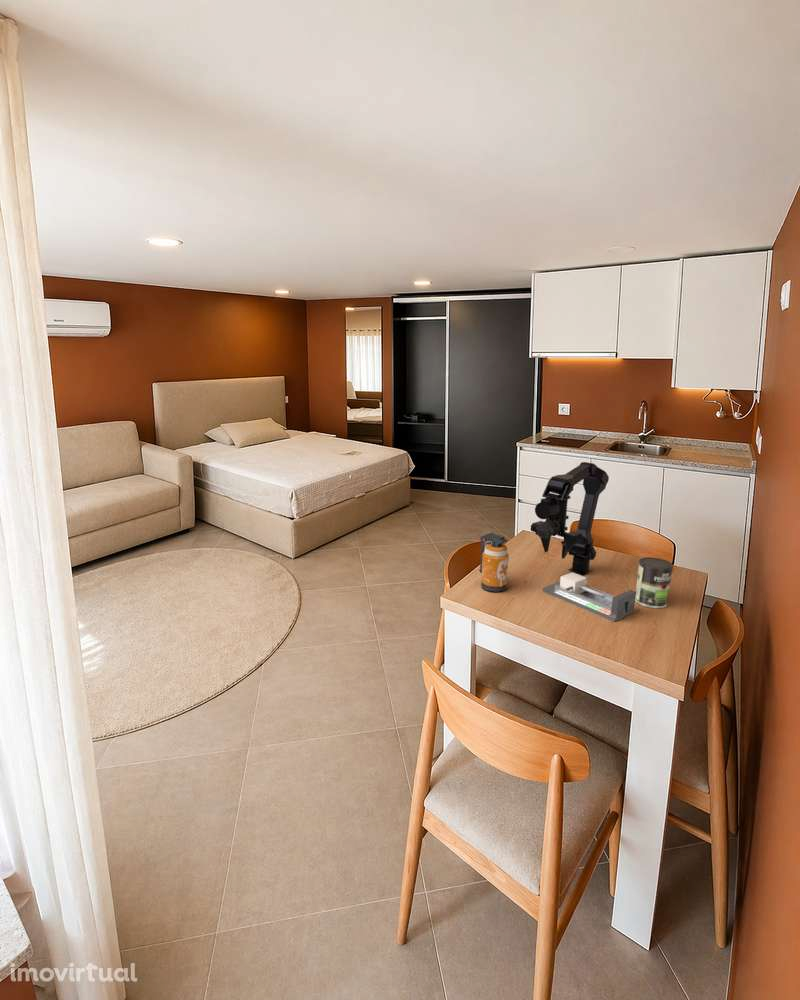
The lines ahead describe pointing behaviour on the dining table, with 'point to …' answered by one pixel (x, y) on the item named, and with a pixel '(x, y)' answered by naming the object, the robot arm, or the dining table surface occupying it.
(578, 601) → the gauge track
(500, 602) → the dining table surface
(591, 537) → the robot arm
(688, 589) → the dining table surface
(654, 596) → the coffee can
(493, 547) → the canister
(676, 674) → the dining table surface
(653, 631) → the dining table surface
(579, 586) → the white cube with rod
